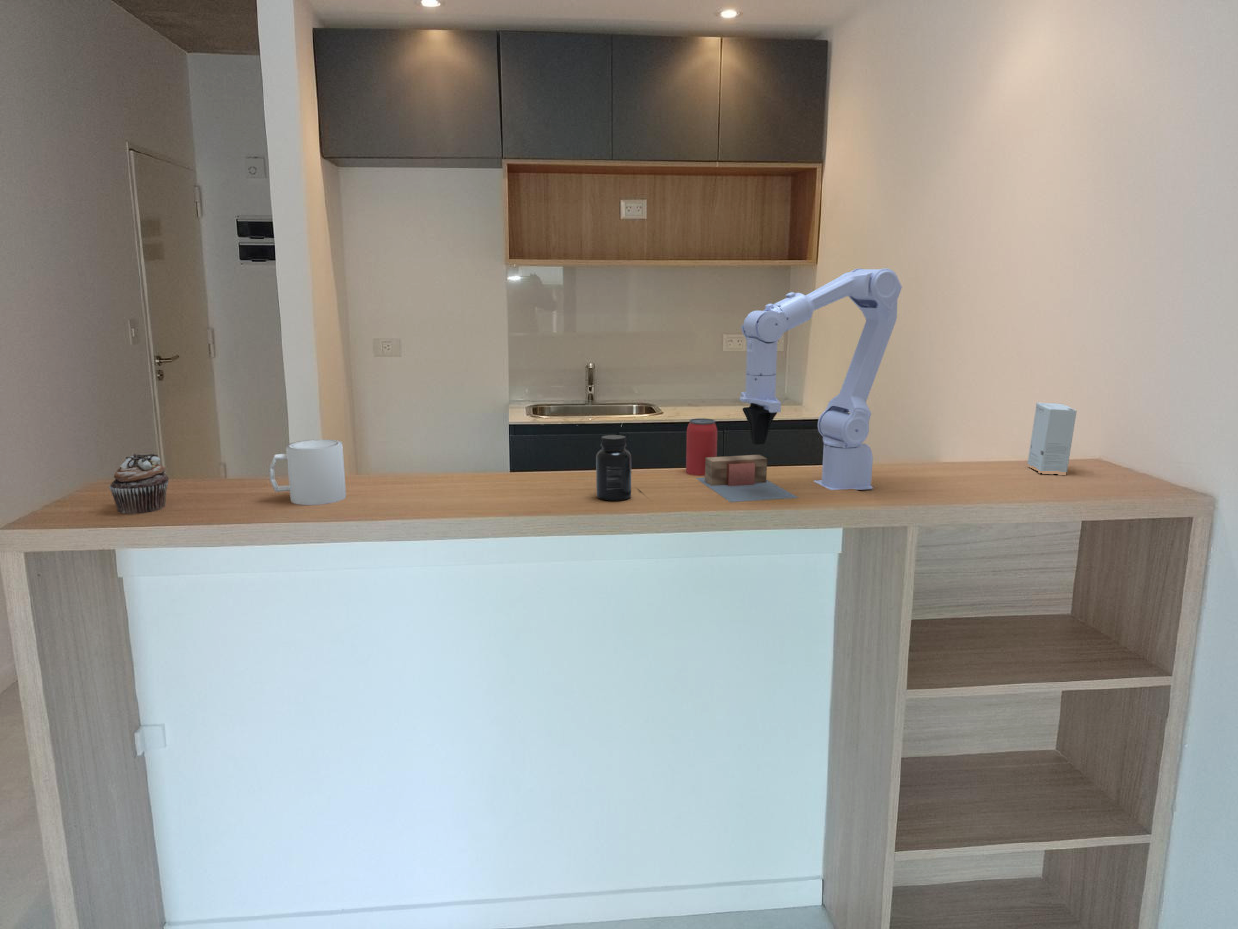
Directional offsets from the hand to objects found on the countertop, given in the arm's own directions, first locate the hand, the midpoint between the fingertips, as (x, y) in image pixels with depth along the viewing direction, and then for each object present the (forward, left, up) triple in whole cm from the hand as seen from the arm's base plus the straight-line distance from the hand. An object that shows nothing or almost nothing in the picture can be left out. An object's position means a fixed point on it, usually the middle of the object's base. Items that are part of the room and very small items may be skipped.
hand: (758, 443), depth 169 cm
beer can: (+5, -19, -11) cm, 22 cm away
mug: (+85, -18, -11) cm, 87 cm away
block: (+1, -9, -10) cm, 13 cm away
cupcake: (+115, -18, -11) cm, 117 cm away
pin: (+1, -9, -10) cm, 14 cm away
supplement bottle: (+28, -5, -11) cm, 30 cm away
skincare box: (-71, -4, -11) cm, 72 cm away
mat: (+1, -4, -10) cm, 11 cm away
